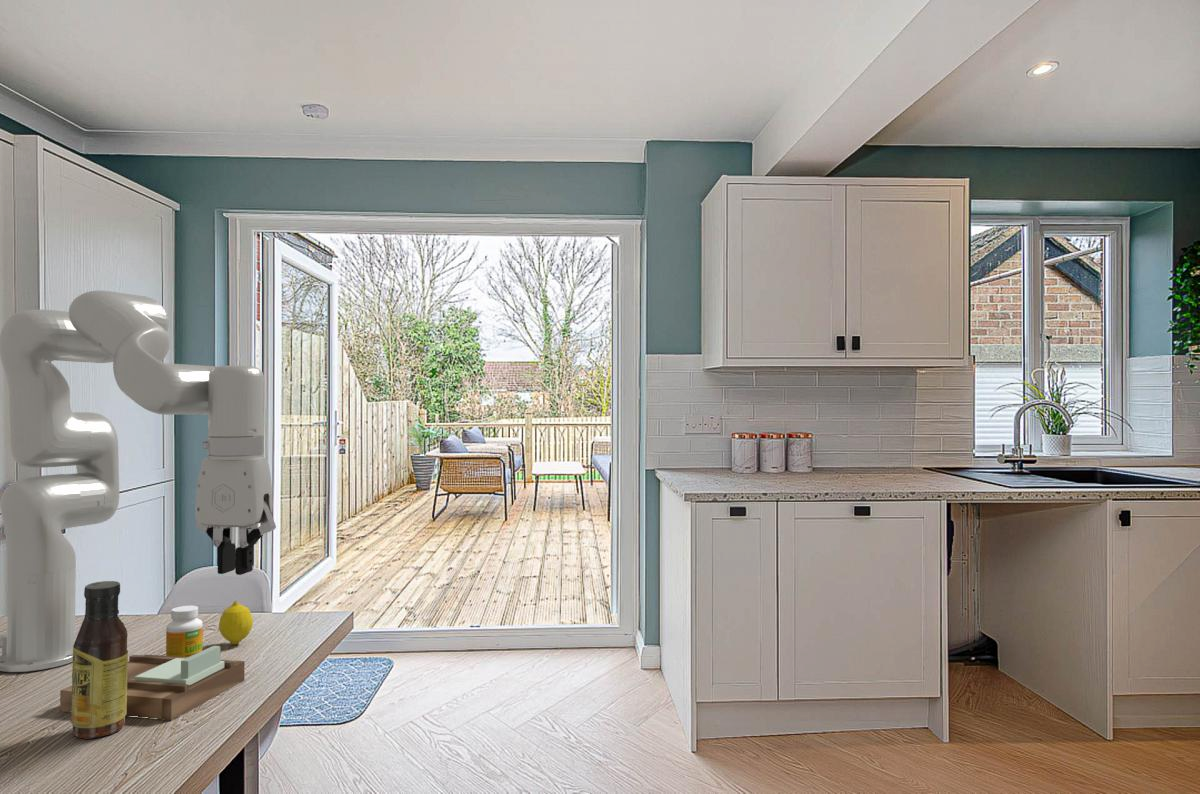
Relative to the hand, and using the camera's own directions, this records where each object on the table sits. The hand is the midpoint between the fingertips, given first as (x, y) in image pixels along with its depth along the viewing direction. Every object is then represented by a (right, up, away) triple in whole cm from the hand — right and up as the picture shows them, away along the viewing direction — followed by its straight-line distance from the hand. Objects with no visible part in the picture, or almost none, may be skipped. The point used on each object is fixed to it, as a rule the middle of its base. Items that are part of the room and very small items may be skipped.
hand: (235, 571), depth 114 cm
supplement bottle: (-16, -20, +15) cm, 29 cm away
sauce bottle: (-13, -19, -11) cm, 26 cm away
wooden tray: (-13, -19, +2) cm, 23 cm away
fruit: (-12, -20, +26) cm, 35 cm away
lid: (-9, -16, +1) cm, 18 cm away
